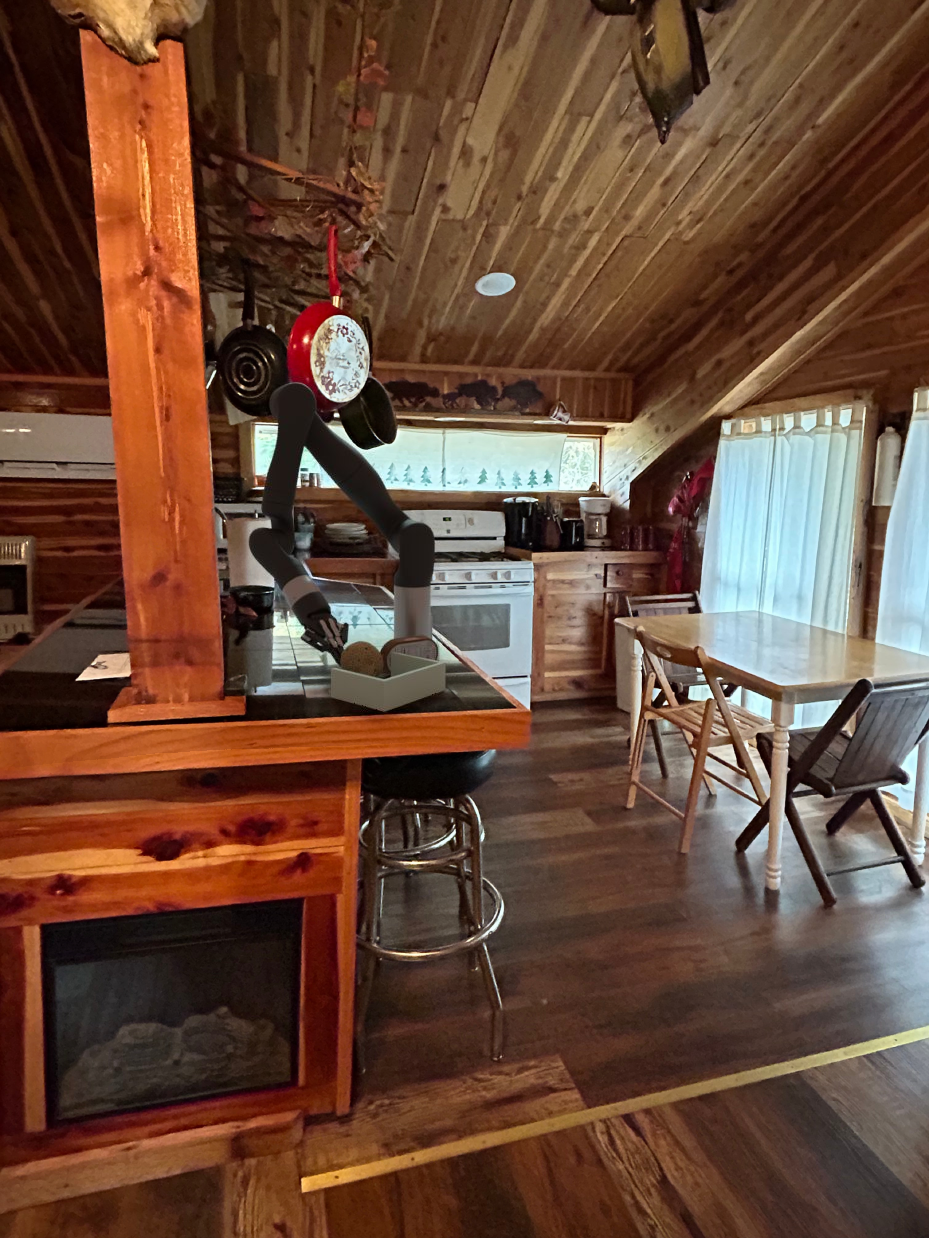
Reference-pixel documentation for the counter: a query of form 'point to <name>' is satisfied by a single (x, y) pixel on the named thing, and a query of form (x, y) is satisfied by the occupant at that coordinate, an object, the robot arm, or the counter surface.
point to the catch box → (390, 683)
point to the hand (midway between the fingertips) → (345, 663)
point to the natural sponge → (362, 659)
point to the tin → (409, 649)
